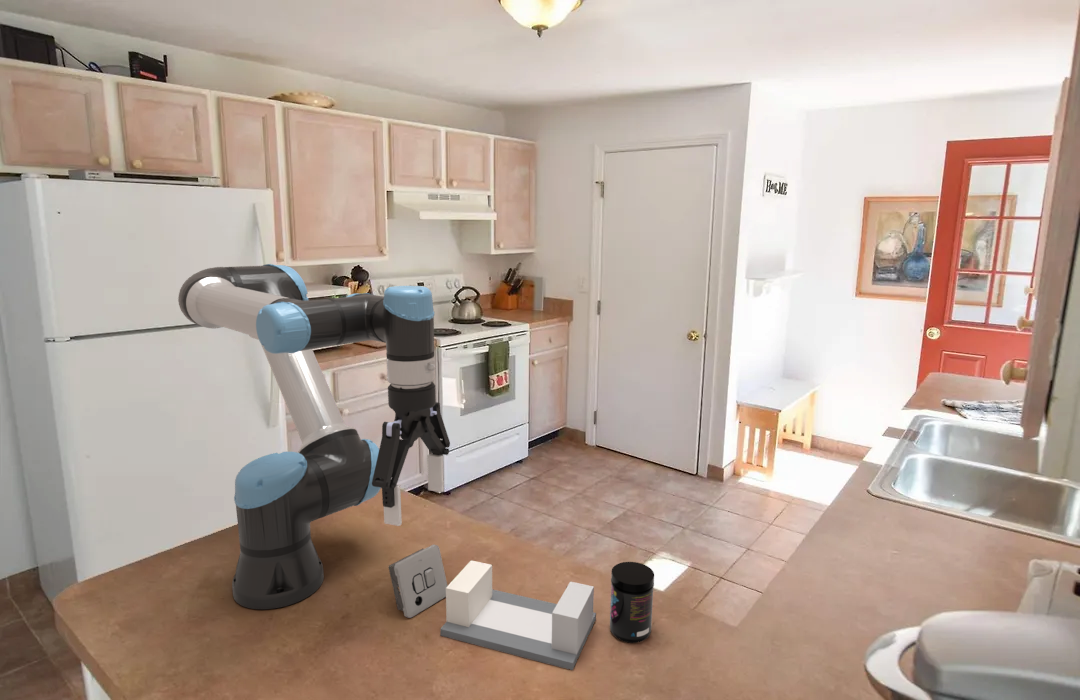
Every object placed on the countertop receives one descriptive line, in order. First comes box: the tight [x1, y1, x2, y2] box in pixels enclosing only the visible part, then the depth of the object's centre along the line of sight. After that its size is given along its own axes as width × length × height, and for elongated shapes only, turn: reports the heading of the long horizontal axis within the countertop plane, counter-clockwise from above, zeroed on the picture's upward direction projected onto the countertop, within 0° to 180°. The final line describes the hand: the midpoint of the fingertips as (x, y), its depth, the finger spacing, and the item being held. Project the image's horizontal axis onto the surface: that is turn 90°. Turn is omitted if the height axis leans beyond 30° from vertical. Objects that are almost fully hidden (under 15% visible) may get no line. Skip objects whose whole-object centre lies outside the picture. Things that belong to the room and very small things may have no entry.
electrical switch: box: [388, 544, 448, 619], centre depth 108 cm, size 9×5×9 cm, turn 141°
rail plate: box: [440, 559, 597, 671], centre depth 101 cm, size 22×13×7 cm, turn 70°
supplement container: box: [609, 561, 655, 644], centre depth 100 cm, size 7×7×10 cm
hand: (415, 506), depth 104 cm, fingers open, 13 cm apart
